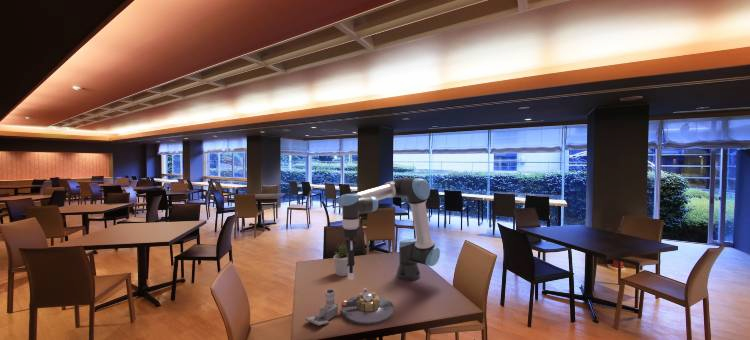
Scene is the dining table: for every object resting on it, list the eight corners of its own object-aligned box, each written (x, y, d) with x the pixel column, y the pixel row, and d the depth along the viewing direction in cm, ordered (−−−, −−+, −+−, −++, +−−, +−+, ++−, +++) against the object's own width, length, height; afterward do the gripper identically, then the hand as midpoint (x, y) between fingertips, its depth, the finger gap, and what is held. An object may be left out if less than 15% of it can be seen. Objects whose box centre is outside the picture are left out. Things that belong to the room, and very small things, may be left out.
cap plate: (388, 297, 154) (388, 282, 154) (398, 322, 129) (398, 304, 129) (341, 300, 151) (341, 285, 150) (342, 326, 126) (342, 308, 126)
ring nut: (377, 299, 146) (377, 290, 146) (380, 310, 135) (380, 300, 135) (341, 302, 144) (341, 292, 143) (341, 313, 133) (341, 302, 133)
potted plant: (357, 272, 191) (357, 242, 191) (344, 279, 180) (344, 247, 180) (342, 268, 198) (342, 239, 198) (329, 275, 187) (329, 244, 186)
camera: (341, 290, 135) (317, 303, 123) (342, 315, 136) (318, 330, 123) (328, 286, 140) (304, 298, 128) (328, 310, 141) (304, 324, 129)
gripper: (342, 225, 139) (342, 273, 139) (342, 231, 125) (343, 285, 125) (357, 224, 140) (357, 273, 140) (360, 230, 126) (360, 284, 126)
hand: (350, 278), depth 133 cm, fingers closed
